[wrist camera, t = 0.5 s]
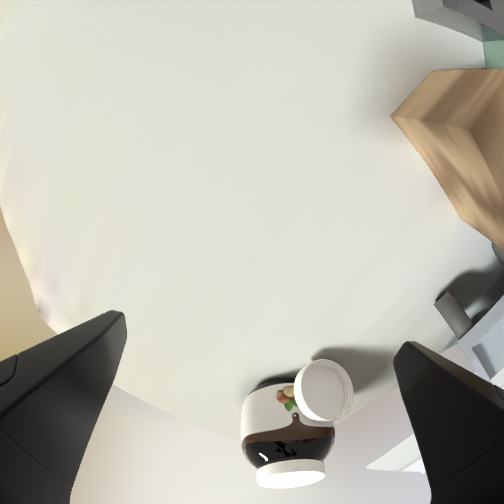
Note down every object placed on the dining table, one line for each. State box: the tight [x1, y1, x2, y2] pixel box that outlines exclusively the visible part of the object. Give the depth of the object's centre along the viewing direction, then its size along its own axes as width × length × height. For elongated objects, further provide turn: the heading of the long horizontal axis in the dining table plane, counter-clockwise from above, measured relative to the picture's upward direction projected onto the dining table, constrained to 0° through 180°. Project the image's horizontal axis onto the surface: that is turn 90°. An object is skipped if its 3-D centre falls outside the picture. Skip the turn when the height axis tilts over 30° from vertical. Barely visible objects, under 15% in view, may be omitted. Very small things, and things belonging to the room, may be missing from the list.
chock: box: [390, 69, 504, 251], centre depth 14 cm, size 12×6×9 cm, turn 50°
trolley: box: [434, 242, 504, 384], centre depth 21 cm, size 15×12×9 cm
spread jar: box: [241, 359, 354, 488], centre depth 25 cm, size 12×11×12 cm
